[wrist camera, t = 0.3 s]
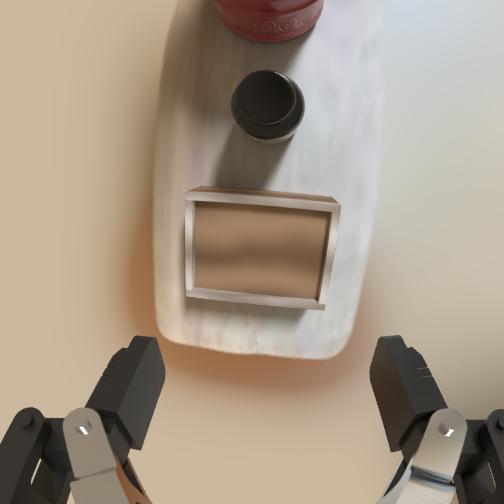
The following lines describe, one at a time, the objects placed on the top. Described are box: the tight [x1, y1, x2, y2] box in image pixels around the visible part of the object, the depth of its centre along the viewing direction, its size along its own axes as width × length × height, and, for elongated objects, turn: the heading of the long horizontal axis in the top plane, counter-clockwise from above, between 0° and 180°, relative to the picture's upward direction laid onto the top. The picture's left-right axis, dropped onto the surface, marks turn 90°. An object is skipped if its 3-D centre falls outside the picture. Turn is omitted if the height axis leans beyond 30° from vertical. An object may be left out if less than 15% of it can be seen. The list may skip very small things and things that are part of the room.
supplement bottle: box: [231, 70, 305, 144], centre depth 27 cm, size 7×7×12 cm
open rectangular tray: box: [185, 186, 341, 310], centre depth 34 cm, size 12×16×6 cm
